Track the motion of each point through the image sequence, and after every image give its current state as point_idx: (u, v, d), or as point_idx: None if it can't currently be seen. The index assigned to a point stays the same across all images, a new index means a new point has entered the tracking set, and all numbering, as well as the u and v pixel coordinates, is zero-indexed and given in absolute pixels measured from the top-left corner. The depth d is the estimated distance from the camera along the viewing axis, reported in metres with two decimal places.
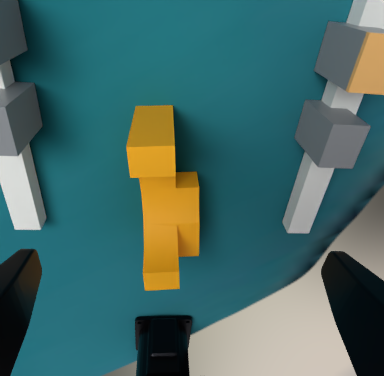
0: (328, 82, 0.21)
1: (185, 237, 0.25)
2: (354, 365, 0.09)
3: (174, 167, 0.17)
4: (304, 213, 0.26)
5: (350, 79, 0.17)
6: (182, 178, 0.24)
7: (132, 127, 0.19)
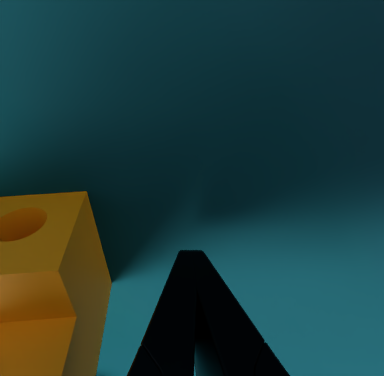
0: None
1: None
2: (196, 370, 0.08)
3: None
4: None
5: None
6: None
7: None
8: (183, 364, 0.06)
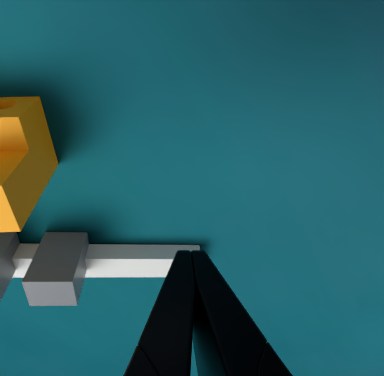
0: None
1: None
2: (198, 370, 0.08)
3: None
4: None
5: None
6: None
7: None
8: (180, 364, 0.06)
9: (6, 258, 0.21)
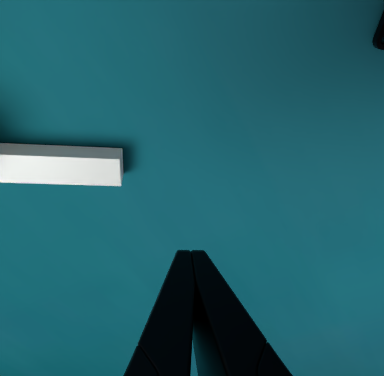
0: None
1: None
2: (198, 370, 0.08)
3: None
4: None
5: None
6: None
7: None
8: (180, 364, 0.06)
9: None
